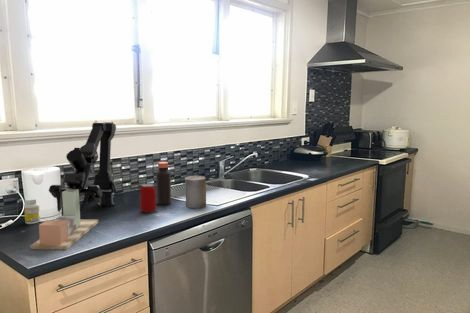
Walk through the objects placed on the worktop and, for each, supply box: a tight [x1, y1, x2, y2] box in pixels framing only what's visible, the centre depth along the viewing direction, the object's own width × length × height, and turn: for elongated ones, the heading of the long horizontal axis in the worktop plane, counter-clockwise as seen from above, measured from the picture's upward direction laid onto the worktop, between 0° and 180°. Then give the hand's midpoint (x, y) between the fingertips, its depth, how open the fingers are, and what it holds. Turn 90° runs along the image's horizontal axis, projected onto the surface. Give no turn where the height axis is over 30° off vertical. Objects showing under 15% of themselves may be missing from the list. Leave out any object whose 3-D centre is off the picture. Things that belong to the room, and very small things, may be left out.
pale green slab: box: [62, 190, 81, 228], centre depth 132 cm, size 17×4×14 cm, turn 179°
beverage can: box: [139, 183, 157, 213], centre depth 166 cm, size 7×7×12 cm
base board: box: [29, 215, 99, 251], centre depth 136 cm, size 28×12×7 cm, turn 179°
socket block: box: [38, 219, 68, 244], centre depth 125 cm, size 5×7×7 cm
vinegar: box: [155, 161, 172, 206], centre depth 178 cm, size 7×7×20 cm
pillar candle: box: [184, 175, 207, 209], centre depth 174 cm, size 10×10×15 cm
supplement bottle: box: [23, 198, 41, 225], centre depth 149 cm, size 5×5×10 cm
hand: (69, 211), depth 137 cm, fingers open, 8 cm apart
